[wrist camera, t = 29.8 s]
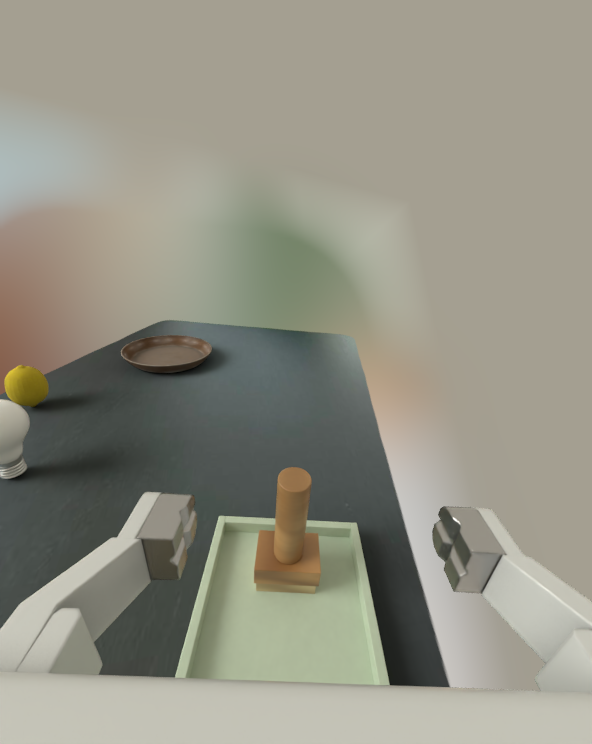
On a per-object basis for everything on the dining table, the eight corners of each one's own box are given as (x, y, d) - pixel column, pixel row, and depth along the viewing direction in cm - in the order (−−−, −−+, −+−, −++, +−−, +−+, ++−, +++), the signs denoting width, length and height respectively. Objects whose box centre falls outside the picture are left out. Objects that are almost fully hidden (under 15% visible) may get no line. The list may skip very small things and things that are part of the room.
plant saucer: (226, 352, 83) (225, 341, 82) (182, 384, 65) (181, 370, 64) (160, 341, 87) (159, 330, 86) (102, 369, 69) (99, 355, 68)
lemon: (61, 400, 56) (49, 361, 53) (34, 416, 51) (19, 374, 48) (33, 397, 57) (20, 357, 53) (4, 412, 52) (-13, 370, 48)
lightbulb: (8, 499, 36) (-27, 423, 32) (-33, 487, 38) (-71, 411, 33) (57, 464, 42) (34, 395, 37) (21, 454, 43) (-6, 386, 39)
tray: (354, 535, 35) (357, 522, 34) (441, 1004, 14) (455, 1003, 13) (219, 528, 35) (219, 515, 34) (96, 1000, 13) (86, 998, 13)
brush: (315, 555, 32) (328, 464, 27) (317, 596, 28) (333, 500, 23) (258, 552, 32) (261, 459, 27) (253, 593, 28) (255, 495, 23)
